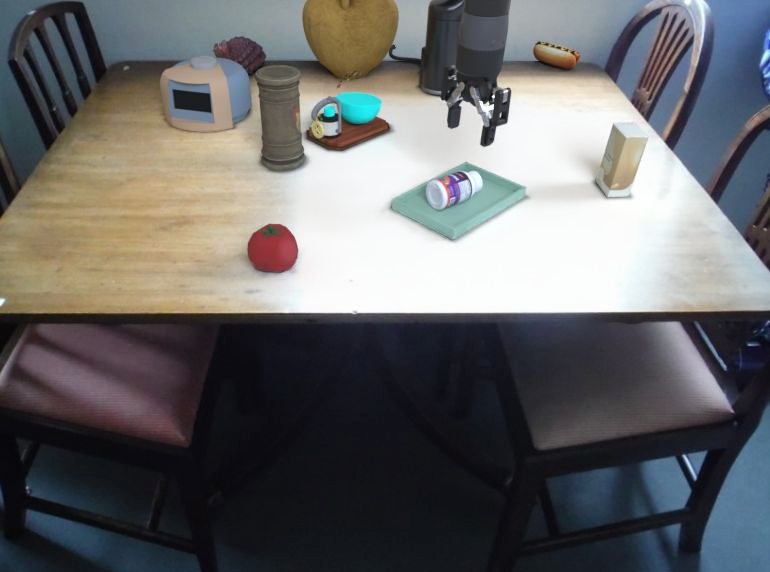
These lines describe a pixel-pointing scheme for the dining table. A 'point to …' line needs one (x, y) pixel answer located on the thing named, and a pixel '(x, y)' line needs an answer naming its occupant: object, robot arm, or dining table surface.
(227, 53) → the pine cone
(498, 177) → the tray
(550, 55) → the hot dog
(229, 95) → the alarm clock
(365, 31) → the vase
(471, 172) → the pill bottle
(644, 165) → the dining table surface
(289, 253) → the tomato
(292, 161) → the container
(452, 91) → the robot arm
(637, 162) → the cosmetic box
